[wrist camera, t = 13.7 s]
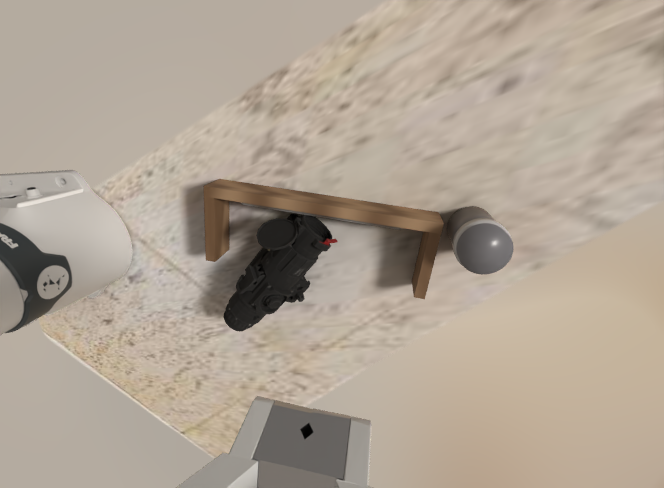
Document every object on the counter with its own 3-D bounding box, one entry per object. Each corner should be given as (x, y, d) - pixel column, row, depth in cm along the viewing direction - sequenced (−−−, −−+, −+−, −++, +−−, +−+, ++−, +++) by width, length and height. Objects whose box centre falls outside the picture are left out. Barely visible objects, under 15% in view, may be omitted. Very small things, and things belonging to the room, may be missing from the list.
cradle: (220, 247, 46) (205, 260, 42) (219, 178, 42) (203, 185, 38) (421, 282, 43) (424, 299, 39) (438, 212, 40) (443, 223, 36)
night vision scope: (256, 297, 51) (191, 285, 44) (333, 210, 44) (271, 180, 37) (270, 344, 46) (200, 338, 39) (359, 253, 39) (294, 227, 32)
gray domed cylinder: (440, 245, 41) (450, 271, 35) (451, 201, 39) (464, 220, 33) (487, 252, 40) (505, 280, 34) (501, 208, 38) (523, 229, 32)
